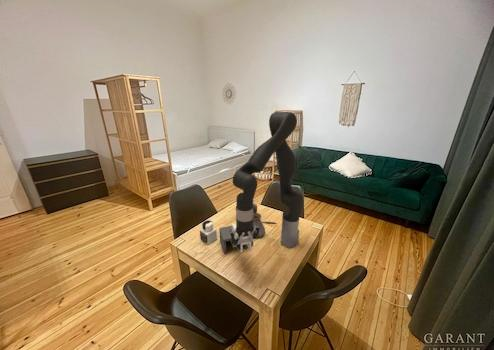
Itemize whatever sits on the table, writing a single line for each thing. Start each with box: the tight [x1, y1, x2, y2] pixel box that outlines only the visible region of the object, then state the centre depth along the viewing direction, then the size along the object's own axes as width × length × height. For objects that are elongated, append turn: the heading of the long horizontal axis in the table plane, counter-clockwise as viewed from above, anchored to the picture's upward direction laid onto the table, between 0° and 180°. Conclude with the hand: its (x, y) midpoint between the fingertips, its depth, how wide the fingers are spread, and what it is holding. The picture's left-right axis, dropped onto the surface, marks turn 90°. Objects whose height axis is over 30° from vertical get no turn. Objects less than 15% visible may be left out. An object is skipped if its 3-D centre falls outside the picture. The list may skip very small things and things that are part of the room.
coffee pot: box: [251, 213, 277, 238], centre depth 121 cm, size 21×12×15 cm, turn 44°
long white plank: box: [231, 222, 252, 253], centre depth 99 cm, size 16×5×5 cm, turn 19°
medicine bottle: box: [199, 219, 218, 245], centre depth 120 cm, size 7×7×12 cm
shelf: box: [218, 225, 249, 255], centre depth 116 cm, size 11×14×10 cm
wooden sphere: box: [235, 199, 258, 213], centre depth 141 cm, size 15×15×15 cm
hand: (244, 247), depth 94 cm, fingers closed on long white plank, 5 cm apart
